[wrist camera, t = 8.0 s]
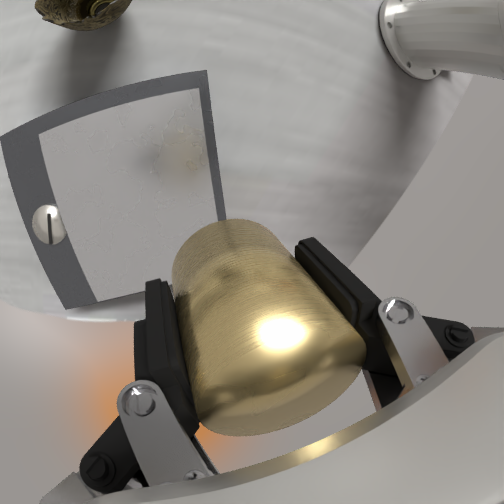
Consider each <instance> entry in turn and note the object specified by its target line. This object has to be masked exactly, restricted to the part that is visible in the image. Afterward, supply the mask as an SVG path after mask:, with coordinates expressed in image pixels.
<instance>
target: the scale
mask: <svg viewBox="0 0 504 504" xmlns="http://www.w3.org/2000/svg"><path fill="white" fill-rule="evenodd" d="M196 88H199V93H200V101H201V109H202V117H203V124H204V132H205V139H206V146H207V153H208V160H209V167H210V173H211V180H212V187H213V193H214V200H215V206H216V212H217V218H218V221H222V220H226V213H225V206H224V199H223V192H222V185H221V178H220V171H219V163H218V156H217V148H216V141H215V133H214V125H213V117H212V110H211V101H210V93H209V85H208V76H207V70H202V71H195V72H188V73H182V74H176V75H171V76H166V77H161V78H156V79H151V80H147V81H142V82H138V83H134V84H130V85H127V86H123V87H119V88H116V89H112V90H109V91H106V92H102V93H99V94H96V95H93V96H90V97H87V98H84V99H82V100H79V101H76V102H73V103H71V104H68V105H66V106H63V107H61V108H58V109H56V110H53V111H51V112H49V113H46V114H44V115H42V116H40V117H38V118H35V119H33V120H31V121H29V122H27V123H25V124H23V125H21V126H19V127H17V128H15V129H13V130H11V131H10V132H8V133H6V134H4V135H2V136H1V137H0V141H1V146H2V151H3V155H4V159H5V163H6V167H7V171H8V175H9V179H10V182H11V186H12V189H13V192H14V195H15V198H16V201H17V204H18V207H19V210H20V213H21V216H22V219H23V221H24V224H25V227H26V229H27V232H28V234H29V237H30V239H31V241H32V244H33V246H34V248H35V251H36V253H37V255H38V257H39V260H40V262H41V264H42V266H43V268H44V270H45V272H46V274H47V276H48V278H49V280H50V282H51V284H52V286H53V288H54V290H55V292H56V293H57V295H58V297H59V299H60V301H61V302H62V304H63V306H64V308H65V309H66V310H67V309H71V308H76V307H80V306H85V305H89V304H93V303H98V301H97V299H96V297H95V295H94V293H93V291H92V289H91V287H90V285H89V283H88V281H87V279H86V277H85V274H84V272H83V270H82V268H81V266H80V263H79V261H78V259H77V256H76V254H75V252H74V249H73V247H72V244H71V242H70V239H69V237H68V234H67V231H66V229H65V226H64V223H63V221H62V218H61V215H60V212H59V209H58V206H57V203H56V200H55V197H54V194H53V190H52V187H51V184H50V180H49V177H48V173H47V169H46V165H45V161H44V157H43V153H42V149H41V144H40V139H39V135H38V134H41V133H43V132H45V131H47V130H50V129H52V128H55V127H57V126H60V125H62V124H65V123H67V122H70V121H72V120H75V119H78V118H81V117H84V116H86V115H89V114H92V113H95V112H98V111H102V110H105V109H108V108H111V107H115V106H118V105H122V104H125V103H129V102H133V101H137V100H141V99H145V98H149V97H154V96H158V95H163V94H168V93H173V92H178V91H184V90H190V89H196ZM171 285H172V284H171ZM169 286H170V285H169ZM141 292H145V291H141ZM137 293H140V292H137ZM133 294H136V293H133ZM129 295H132V294H129ZM125 296H128V295H125ZM120 297H123V296H120ZM116 298H119V297H116ZM112 299H115V298H112ZM108 300H111V299H108ZM103 301H106V300H103ZM99 302H102V301H99Z"/></svg>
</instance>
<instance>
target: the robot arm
mask: <svg viewBox="0 0 504 504" xmlns="http://www.w3.org/2000/svg"><path fill="white" fill-rule="evenodd" d="M379 19H380V28H381V32H382V36H383V39H384V41H385V44H386V46H387V48H388V50H389V52H390V54H391V55H392V57H393V59H394V60H395V61H396V63H397V64H398V65H399V66H400V67H401V68H402V69H403V70H404V71H405V72H406V73H407V74H409V75H411V76H412V77H415V78H417V79H424V80H427V79H432V78H435V77H436V76H437V75H439V73H440V72H441V70H447V71H456V72H463V73H470V74H476V75H482V76H487V77H493V78H497V79H502V80H504V0H426V1H419V0H384V2H383V3H382V5H381V9H380V17H379ZM295 259H296V260H297V261H298V263H299V264H300V265H301V266H302V267H303V268H304V270H305V271H306V272H307V273H308V274H309V275H310V276H311V278H312V279H313V280H314V281H315V282H316V283H317V285H318V286H319V287H320V288H321V289H322V291H323V292H324V293H325V294H326V295H327V296H328V298H329V299H330V300H331V301H332V302H333V304H334V305H335V306H336V307H337V308H338V309H339V311H340V312H341V313H342V314H343V315H344V317H345V318H346V319H347V320H348V321H349V323H350V324H351V325H352V326H353V328H354V329H355V330H356V331H357V332H358V334H359V335H360V336H361V337H362V338H363V340H364V342H365V344H366V349H367V351H366V359H365V362H364V365H363V367H362V371H363V374H364V377H365V379H366V382H367V385H368V388H369V391H370V394H371V397H372V400H373V403H374V406H375V409H376V412H375V413H374V414H372V415H370V416H368V417H366V418H364V419H363V420H361V421H359V422H357V423H355V424H353V425H351V426H349V427H347V428H345V429H343V430H341V431H339V432H337V433H335V434H333V435H331V436H329V437H327V438H324V439H322V440H320V441H317V442H315V443H313V444H310V445H308V446H306V447H303V448H301V449H298V450H296V451H293V452H290V453H288V454H285V455H282V456H279V457H277V458H274V459H271V460H268V461H265V462H262V463H258V464H255V465H252V466H249V467H245V468H242V469H238V470H235V471H231V472H226V473H223V474H220V473H219V471H218V470H217V468H216V467H215V465H214V464H213V462H212V461H211V459H210V458H209V457H208V455H207V453H206V452H205V450H204V449H203V447H202V446H201V444H200V443H199V441H198V439H197V438H196V436H195V433H196V431H197V430H198V429H199V422H200V421H199V419H198V416H197V412H196V408H195V404H194V400H193V395H192V391H191V386H190V382H189V377H188V373H187V368H186V363H185V358H184V353H183V347H182V342H181V337H180V331H179V325H178V319H177V313H176V307H175V302H174V299H173V296H172V293H171V291H170V288H169V285H168V282H167V280H166V281H161V279H160V278H158V279H154V280H150V281H147V282H145V307H146V319H144V320H140V321H136V322H135V323H134V363H135V364H134V366H135V382H132V383H130V384H128V385H127V386H125V387H124V388H123V389H122V391H121V392H120V394H119V396H118V399H117V409H118V412H119V416H118V417H117V418H116V419H115V421H114V422H113V423H112V424H111V425H110V426H109V427H108V429H107V430H106V431H105V432H104V433H103V434H102V435H101V437H100V438H99V439H98V440H97V441H96V442H95V444H94V445H93V446H92V447H91V448H90V449H89V450H88V452H87V453H86V454H85V455H84V457H83V458H82V460H81V463H80V471H79V472H77V473H75V472H72V473H71V474H70V475H69V476H68V477H66V478H65V479H64V480H63V481H62V482H61V483H59V484H58V485H57V486H56V487H55V488H54V489H52V490H51V491H50V492H49V493H47V494H46V495H45V496H44V497H43V498H42V499H41V501H40V503H39V504H504V328H491V327H471V329H469V328H468V327H467V326H466V325H464V324H463V323H460V322H456V321H450V320H444V319H437V318H432V317H425V316H421V314H420V313H419V311H418V310H417V308H416V307H415V306H414V304H412V303H411V302H410V301H408V300H406V299H403V298H399V297H391V298H387V299H385V300H384V301H381V300H380V299H379V298H378V297H377V296H376V295H375V294H374V293H373V292H372V291H371V290H370V289H369V288H368V287H367V286H366V285H365V284H364V283H363V282H362V281H360V279H359V278H357V277H356V276H355V275H354V274H353V273H352V272H351V271H350V270H349V269H348V268H347V267H346V266H345V265H343V264H342V263H341V262H340V261H339V260H338V259H337V258H336V257H335V256H334V255H333V254H332V253H331V252H329V251H328V250H327V249H326V248H325V247H324V246H323V245H322V244H321V243H320V242H319V241H317V240H316V239H315V238H314V237H311V238H307V239H304V240H300V241H299V243H298V245H296V246H295Z"/></svg>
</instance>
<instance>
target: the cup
mask: <svg viewBox="0 0 504 504" xmlns="http://www.w3.org/2000/svg"><path fill="white" fill-rule="evenodd" d="M131 1H132V0H36V2H35V9H36V10H37V12H38V13H39V14H41V15H42V16H43V18H42V19H43V20H45V21H48V22H51V23H53V24H56V25H59V26H62V27H65V28H68V29H72V30H77V31H89V30H94V29H98V28H101V27H103V26H106V25H108V24H109V23H111V22H113V21H114V20H116V19H117V18H118V17H119V16H120V15H122V14H123V13H124V12H125V10H126V9H127V8H128V6H129V5H130V3H131ZM103 3H110V4H109V5H108V6H107V7H106V8H105V9H103V10H102V11H100V12H98V13H97V14H95V11H96V9H97V7H98V6H99V5H101V4H103Z"/></svg>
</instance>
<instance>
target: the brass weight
mask: <svg viewBox="0 0 504 504" xmlns="http://www.w3.org/2000/svg"><path fill="white" fill-rule="evenodd" d="M171 277H172V286H173V293H174V300H175V307H176V313H177V319H178V325H179V331H180V337H181V342H182V347H183V353H184V358H185V363H186V368H187V373H188V377H189V382H190V386H191V391H192V395H193V400H194V404H195V408H196V412H197V416H198V419H199V421H200V422H201V423H202V424H203V426H205V427H206V428H207V429H209V430H211V431H213V432H215V433H219V434H223V435H228V436H251V435H260V434H265V433H270V432H273V431H277V430H280V429H283V428H286V427H289V426H291V425H294V424H296V423H299V422H301V421H303V420H305V419H307V418H309V417H311V416H312V415H314V414H316V413H317V412H319V411H321V410H322V409H324V408H325V407H326V406H328V405H329V404H331V403H332V402H333V401H334V400H336V399H337V398H338V397H339V396H340V395H341V394H342V393H343V392H344V391H345V390H346V389H347V388H348V387H349V386H350V385H351V384H352V383H353V381H354V380H355V379H356V377H357V376H358V374H359V373H360V371H361V369H362V367H363V365H364V362H365V359H366V351H367V349H366V344H365V342H364V340H363V338H362V337H361V336H360V335H359V334H358V332H357V331H356V330H355V329H354V328H353V326H352V325H351V324H350V323H349V321H348V320H347V319H346V318H345V317H344V315H343V314H342V313H341V312H340V311H339V309H338V308H337V307H336V306H335V305H334V304H333V302H332V301H331V300H330V299H329V298H328V296H327V295H326V294H325V293H324V292H323V291H322V289H321V288H320V287H319V286H318V285H317V283H316V282H315V281H314V280H313V279H312V278H311V276H310V275H309V274H308V273H307V272H306V271H305V270H304V268H303V267H302V266H301V265H300V264H299V263H298V261H297V260H296V259H295V258H294V257H293V256H292V255H291V253H290V252H289V251H288V250H287V249H286V248H285V247H284V245H283V244H282V243H281V242H280V241H279V240H278V239H277V237H276V236H275V235H274V234H273V233H272V232H271V231H270V230H268V229H267V228H266V227H264V226H262V225H261V224H259V223H256V222H253V221H249V220H245V219H227V220H222V221H218V222H215V223H212V224H209V225H207V226H205V227H203V228H201V229H200V230H198V231H197V232H195V233H194V234H193V235H192V236H190V237H189V238H188V239H187V240H186V241H185V242H184V244H183V245H182V246H181V248H180V249H179V251H178V253H177V255H176V257H175V259H174V262H173V266H172V274H171Z"/></svg>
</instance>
